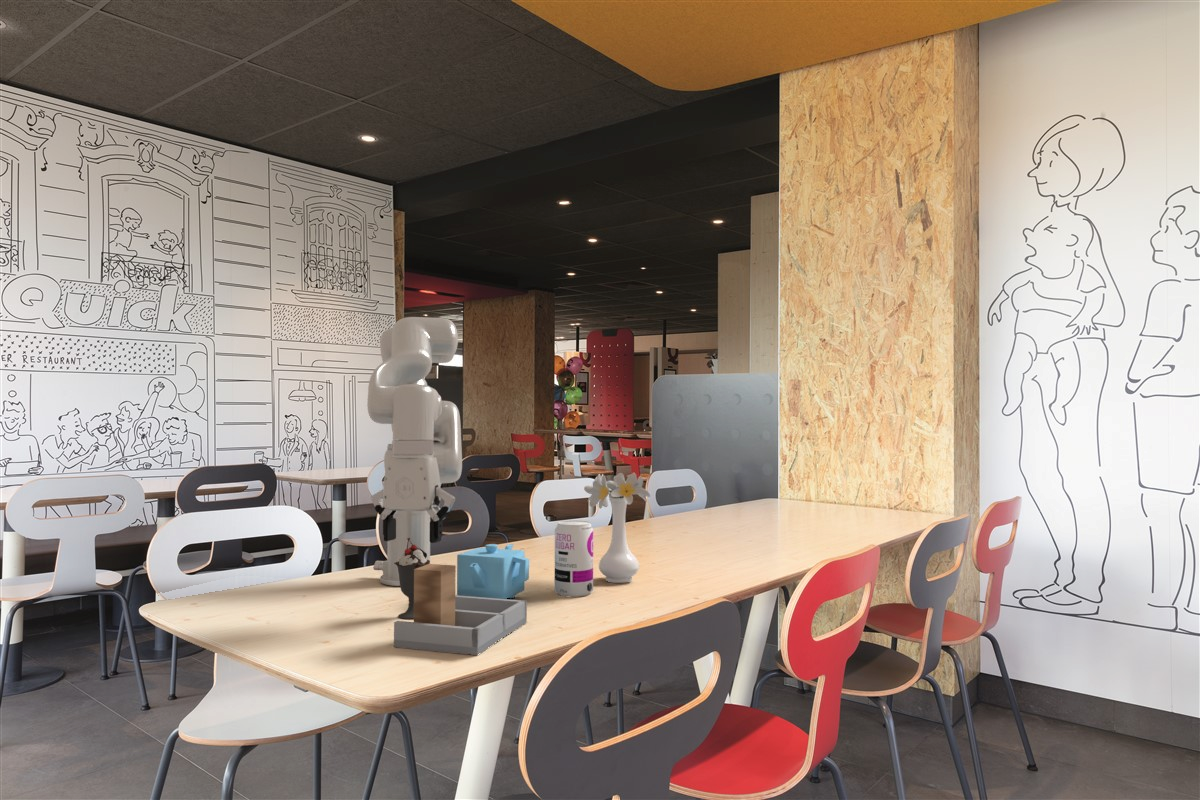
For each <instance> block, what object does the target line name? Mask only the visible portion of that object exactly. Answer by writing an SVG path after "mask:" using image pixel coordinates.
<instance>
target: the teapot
mask: <svg viewBox="0 0 1200 800" xmlns="http://www.w3.org/2000/svg"><path fill="white" fill-rule="evenodd" d="M498 546H499V545H498V544H496V543H489V544H485V545H484V547H477V548H474V549H471V550H468V551H464V552H462V553H461V552H460V553H459V554H457V556H456V557H457V558H456V563H457V564H456V595H458V596H471V597H484V598H497V599H507V598H514V597H515V595H516V596H517V594H520V593H522V592H524V591H525V582H527V581H529V577H530V558H528V557H525V550H521V549H520V550H519V549H512V548H513V547H514V544H513V543H510V544H507V545H506V546H505V547H504V548H498ZM514 599H515V598H514Z"/></svg>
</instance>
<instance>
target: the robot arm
mask: <svg viewBox="0 0 1200 800" xmlns="http://www.w3.org/2000/svg"><path fill="white" fill-rule="evenodd" d="M458 344H459V335H458V330H457V326H456V324H454V322H453V321H452V320H450V319H448V318H444V317H423V316H420V317H419V316H408V317H403V318H401V319H399V320H398V321H397V320H396V322H395V323H394V325H393V326H392V327H391V328H387V329H385V331H383V332H382V333H381V336H380V340H379V346H380V347H379V348H380V356H381V361H382V362H381V363H380V364H379V365H378V366H377V367H376V368H375V369H374V370H373V372H372V373H371V375H370V378H369V380H368V381H369V382H368V387H367V390H368V391H367V405H366V406H367V413H368V416H369V418H370V419H371V420H372V421H373V422H375V423H376V424H380V425H391V431H392V441H391V443H388V444H387V449H386V450H385V453H384V456H383V463H384V464H383V465H384V466H383V467H384V478H383V487H382V488H383V489H381V490H379V491H378V492H376V493H373V494H372V495H371V497H370V498H371V502H372V505H374V510H375V511H376V512H377V514H378V515H379V517H380V519H381V520H382V535H383V541H384V542H386V543H387V545H386V546H387V552H386V553H387V554H386V555H387V557H386V558H387V559H386V560H375V562H374V564H373V568H372V569H373V570H374V571H382V575H380V578H379V582H380V583H381V584H383V585H387V586H393V587H400V581H399V573H398V567H397V565H396V564H394V563H396V562H399V560H400V558H401V557H402V556H403V554H404V553H405V552H404V551H405V550H406V549H407V544H408V548H410V547H411V546H412V544H413V545H416V546H417V548H420V549H422V550H423V551H424V552H426V553H427V557H426V559H427V560H430V561H431V544H435V543H440V542H441V541H442V538H443V521H444V520H445V519H446V517H447V516H448V514H449V513H450V512H451V511H452V507H453V506H454V504H455V501H456V497H455V496H454V495H452V494H450V493H449V492H447V491H446V490H444V489H442V488H441V484H452V483H455V482H457V481H458V480H459V479H460V478H461V475H462V470H463V450H462V428H461V427H462V425H461V416H460V410H459V408H458V407H457V405H456V404H455V403H454V402H452V401H449V400H442V397H441V395H440V394H439V392H438V390H436V389H435V388H433V387H431V386H430V385H428V382H427V380H426V379H425V378H426V377H427V376H428V375H429V374H430V372H431V370H432V368H433V367H432V365H433V364H447V363H450V362H451V361H452V360H453V358H454V356H455V354H456V352H457V349H458ZM434 441H436V442H434ZM437 441H438V442H437ZM441 500H443V501H444V504H443V506H442V507H441V508H440V505H441ZM408 538H410V541H409V542H408V540H407V539H408ZM410 542H411V543H412V544H411V543H410ZM429 564H431V562H430V563H429Z"/></svg>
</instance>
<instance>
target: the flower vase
mask: <svg viewBox="0 0 1200 800" xmlns="http://www.w3.org/2000/svg"><path fill="white" fill-rule="evenodd" d="M643 486H644V478H643V477H642V476H641V475H639V476H638V477H637V474H636V473H635V472H632V473H630V475H629V474H628V476H627V479H626V480H625V475H624V473H622V472H619V473H617V475H614V476H613V480H607V478H606V475H604V474H603V473H602V474H600V473H598V475H597V476H596V477H595V478H594V480H593V481H592V485H586V486H584V491H585V492H586V493H587V494H589V495H590V496H589V497H588V499H587V502H589V506H590V507H591V508H593V507H596V505H597V504H598V508H599V509H602V508H603V507H604V508H608V507H609V502H610V505H611V506H610V507H611V513H612V514H611V515H612V526H611V527H612V528H611V529H612V531H611V540H610V544H609V547H608V549H607V551H606V552H605V553H604V555H603V556H602V557H601V558H600V560H599V562H598V569H599V571H600V573H601V574H602V575H603V576H604V577H605V581H606V582H607V581H608V582H607V583H611V584H627V583H631V582H632V581H633V576H635V575H636V574H637V572H638V571H639V569H640V562H639V560H638V558H637V557H636V556H635V555H634V554H633V553H632V552H631V549H630V547H629V545H628V541H627V532H626V530H627V528H626V527H627V525H626V515H627V514H626V512H627V505H632V504H633V502H634V497H633V495H638V496H639V497H640V498H642V499H643V500H644V502H646V503H648V499H647V498H650V497H651V494H650V493H649V491H648V490H646V488H644V487H643ZM607 497H608V498H607ZM608 500H609V502H608Z"/></svg>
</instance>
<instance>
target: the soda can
mask: <svg viewBox="0 0 1200 800" xmlns="http://www.w3.org/2000/svg"><path fill="white" fill-rule="evenodd" d="M554 591H555V592H556V593H557V594H559V596H561V595H562V597H566V596H570V598H579V597H580V596H581V597H586V596H588V594H589V595H590V594H591V593H592V592H593V591H594V528H593V526H592V524H591V522H590V521H589V520H588V521H587V520H563V521H562V520H561V521H558V522H557V525H556V526H555V529H554ZM581 597H580V598H581Z"/></svg>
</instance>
